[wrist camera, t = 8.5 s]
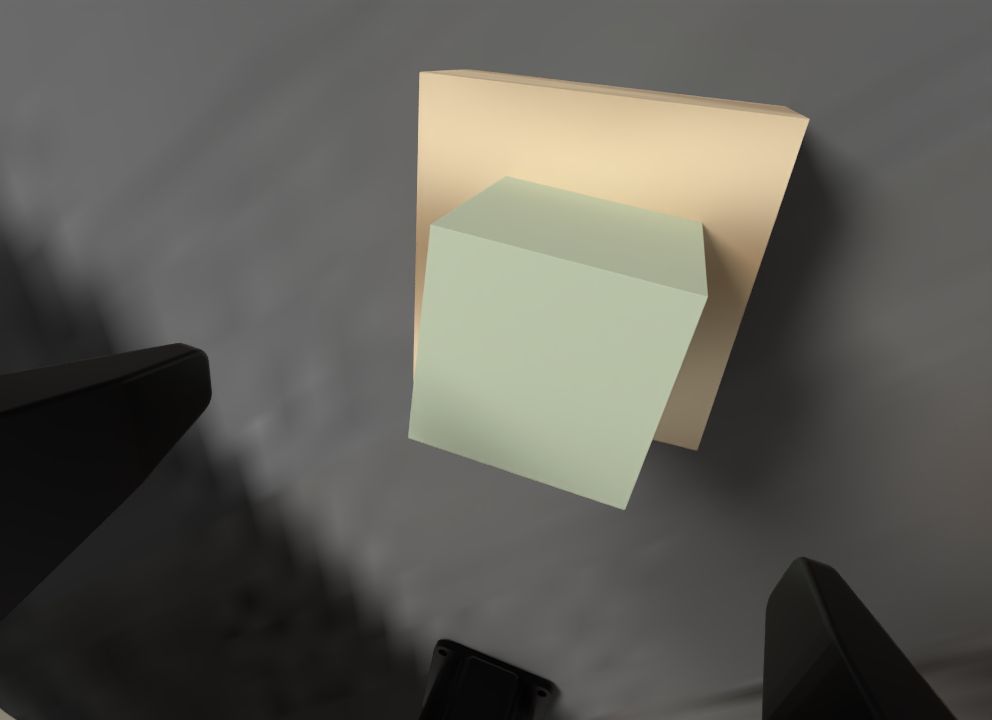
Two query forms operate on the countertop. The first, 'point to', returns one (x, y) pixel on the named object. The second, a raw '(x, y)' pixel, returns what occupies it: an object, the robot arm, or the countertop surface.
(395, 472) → the countertop surface
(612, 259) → the sage cube
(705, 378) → the maple block
